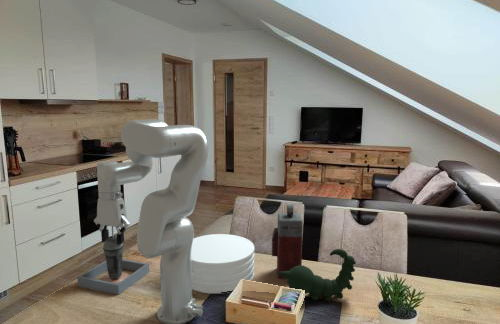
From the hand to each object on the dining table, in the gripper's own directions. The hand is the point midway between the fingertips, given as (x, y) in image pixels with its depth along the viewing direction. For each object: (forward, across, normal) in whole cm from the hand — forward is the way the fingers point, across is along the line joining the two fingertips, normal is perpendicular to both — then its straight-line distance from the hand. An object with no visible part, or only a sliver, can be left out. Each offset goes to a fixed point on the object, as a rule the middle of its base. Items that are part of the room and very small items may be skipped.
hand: (113, 241), depth 134 cm
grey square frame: (+15, 0, 0) cm, 15 cm away
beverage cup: (+14, 0, 0) cm, 14 cm away
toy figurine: (+16, -74, -12) cm, 76 cm away
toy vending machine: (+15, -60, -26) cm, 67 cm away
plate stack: (+15, -35, -16) cm, 42 cm away
